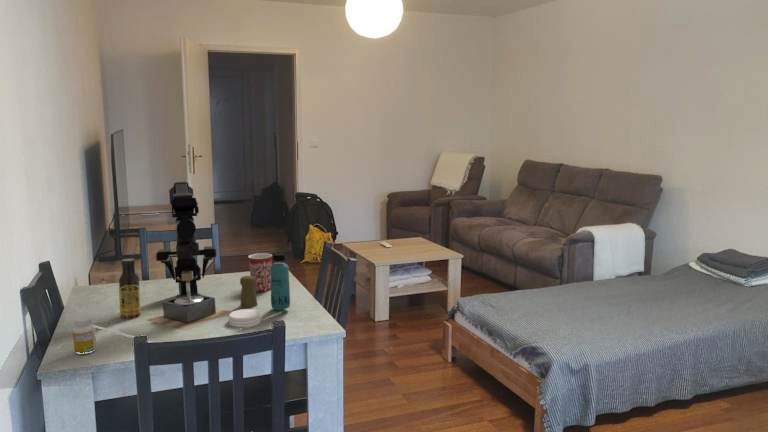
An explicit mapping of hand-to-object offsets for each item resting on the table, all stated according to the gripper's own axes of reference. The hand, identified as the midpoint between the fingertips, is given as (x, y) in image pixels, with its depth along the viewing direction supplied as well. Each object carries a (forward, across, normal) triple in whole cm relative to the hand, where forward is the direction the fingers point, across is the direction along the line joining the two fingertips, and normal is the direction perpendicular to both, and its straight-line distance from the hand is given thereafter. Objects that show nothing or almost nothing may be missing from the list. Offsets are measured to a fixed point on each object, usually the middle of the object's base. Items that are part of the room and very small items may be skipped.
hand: (188, 278), depth 192 cm
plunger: (+7, 0, -3) cm, 8 cm away
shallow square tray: (+12, -1, -2) cm, 12 cm away
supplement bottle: (+13, -26, -26) cm, 39 cm away
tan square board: (+12, 0, -3) cm, 13 cm away
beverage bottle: (+13, +30, -5) cm, 33 cm away
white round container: (+13, +18, -14) cm, 26 cm away
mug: (+12, +23, +26) cm, 37 cm away
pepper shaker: (+13, +19, +3) cm, 23 cm away
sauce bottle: (+13, -19, +2) cm, 23 cm away
